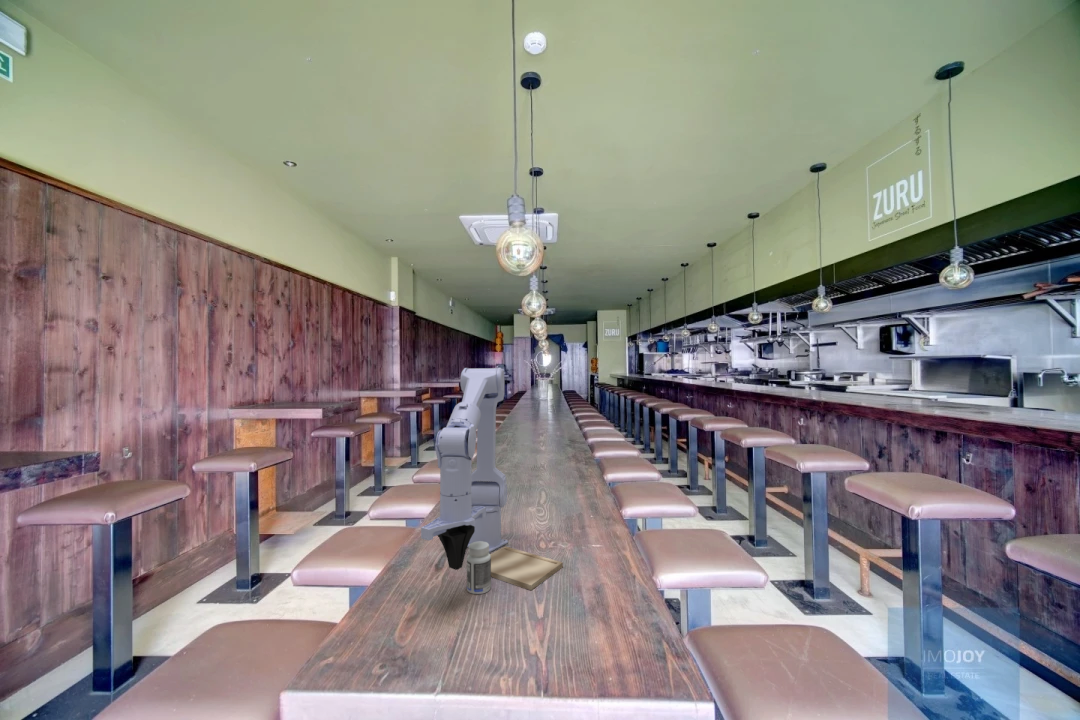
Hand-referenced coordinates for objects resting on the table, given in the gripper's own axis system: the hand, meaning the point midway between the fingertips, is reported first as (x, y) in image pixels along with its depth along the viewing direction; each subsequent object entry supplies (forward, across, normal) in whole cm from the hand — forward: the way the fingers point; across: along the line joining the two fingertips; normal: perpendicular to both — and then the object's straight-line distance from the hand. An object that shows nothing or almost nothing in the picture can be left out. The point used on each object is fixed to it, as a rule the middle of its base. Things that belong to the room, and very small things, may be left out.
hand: (455, 567), depth 75 cm
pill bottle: (+7, +6, 0) cm, 9 cm away
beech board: (+6, +17, -1) cm, 18 cm away
